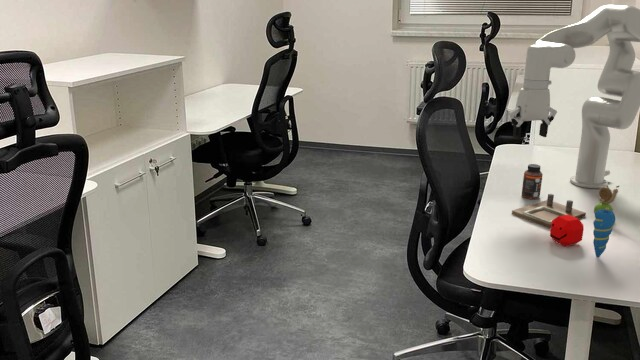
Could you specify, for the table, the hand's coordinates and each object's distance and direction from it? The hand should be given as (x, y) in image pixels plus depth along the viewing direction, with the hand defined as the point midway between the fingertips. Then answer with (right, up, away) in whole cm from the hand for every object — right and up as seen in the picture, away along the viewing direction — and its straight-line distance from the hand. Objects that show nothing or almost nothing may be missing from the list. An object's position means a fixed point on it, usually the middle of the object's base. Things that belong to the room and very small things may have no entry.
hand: (529, 137), depth 200 cm
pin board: (+4, -25, -6) cm, 26 cm away
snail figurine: (+20, -26, -9) cm, 34 cm away
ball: (+1, -32, -26) cm, 41 cm away
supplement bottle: (+4, -20, +10) cm, 23 cm away
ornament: (+7, -35, -35) cm, 50 cm away
